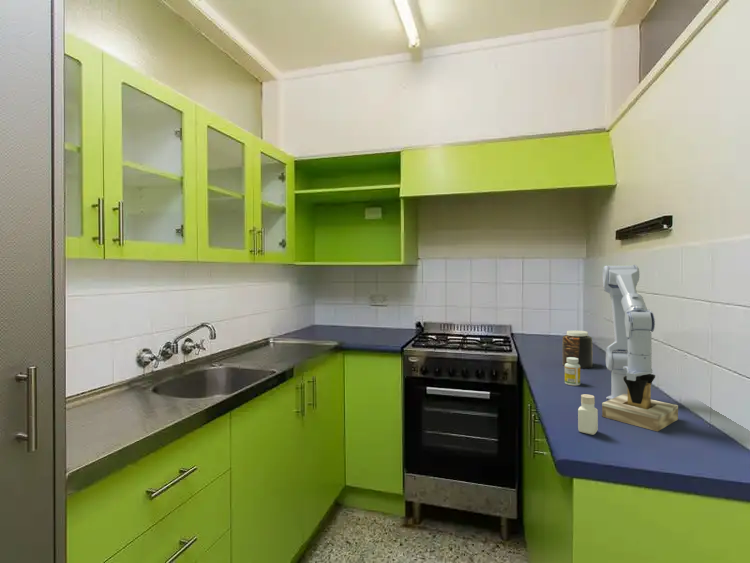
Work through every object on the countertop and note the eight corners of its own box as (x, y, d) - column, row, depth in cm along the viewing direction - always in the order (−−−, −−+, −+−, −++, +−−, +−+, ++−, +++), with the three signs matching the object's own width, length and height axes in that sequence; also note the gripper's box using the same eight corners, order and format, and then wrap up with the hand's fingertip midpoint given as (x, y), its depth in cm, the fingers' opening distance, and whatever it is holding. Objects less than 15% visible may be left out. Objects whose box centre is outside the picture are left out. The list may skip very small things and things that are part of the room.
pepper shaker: (598, 431, 107) (598, 395, 107) (594, 436, 104) (594, 399, 104) (581, 427, 110) (581, 392, 110) (577, 432, 107) (577, 396, 107)
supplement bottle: (569, 386, 149) (569, 360, 148) (561, 382, 154) (561, 357, 154) (583, 385, 149) (583, 359, 149) (575, 381, 155) (574, 356, 154)
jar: (585, 370, 171) (584, 334, 171) (557, 365, 180) (557, 331, 180) (597, 365, 179) (596, 331, 178) (570, 361, 188) (570, 329, 187)
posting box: (624, 406, 126) (624, 393, 126) (678, 419, 115) (678, 405, 114) (602, 416, 118) (602, 402, 118) (657, 431, 106) (657, 416, 106)
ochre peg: (632, 404, 119) (632, 380, 119) (650, 407, 116) (650, 383, 116) (627, 407, 116) (627, 383, 116) (645, 411, 113) (645, 386, 113)
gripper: (632, 348, 123) (632, 392, 124) (614, 355, 114) (614, 403, 114) (659, 351, 118) (659, 397, 118) (643, 359, 109) (643, 409, 109)
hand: (639, 400), depth 116 cm, fingers closed on ochre peg, 4 cm apart
